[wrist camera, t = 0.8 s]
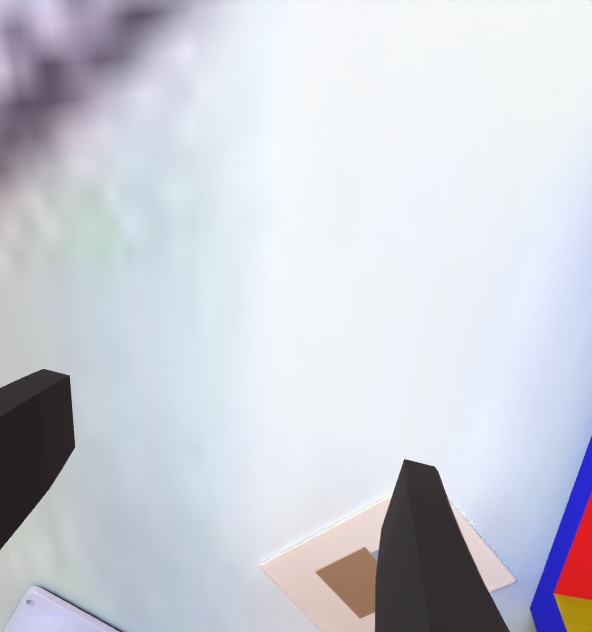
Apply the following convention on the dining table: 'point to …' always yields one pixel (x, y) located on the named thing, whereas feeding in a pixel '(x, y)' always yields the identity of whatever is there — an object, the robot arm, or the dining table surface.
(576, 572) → the building blocks toy
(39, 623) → the robot arm
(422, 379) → the dining table surface
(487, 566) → the page
